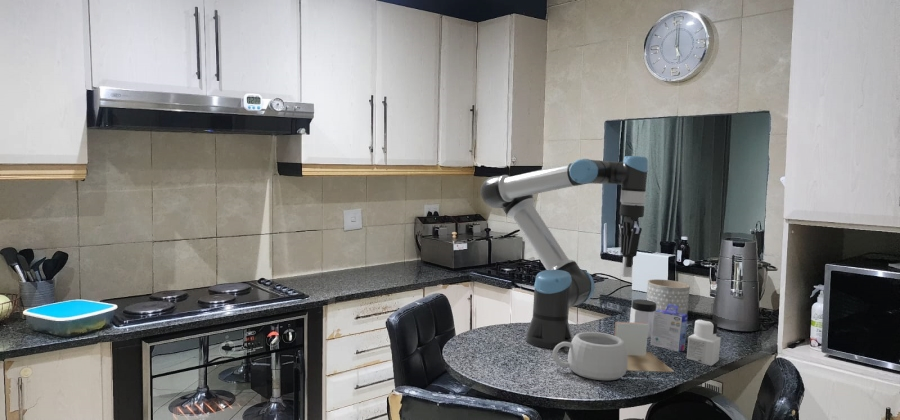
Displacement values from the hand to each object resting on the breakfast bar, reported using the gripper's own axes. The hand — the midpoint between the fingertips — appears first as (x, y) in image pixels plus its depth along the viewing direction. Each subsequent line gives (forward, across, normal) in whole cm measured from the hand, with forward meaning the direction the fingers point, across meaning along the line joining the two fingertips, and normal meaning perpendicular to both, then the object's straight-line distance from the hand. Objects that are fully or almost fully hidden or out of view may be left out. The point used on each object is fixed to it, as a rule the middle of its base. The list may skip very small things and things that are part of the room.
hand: (626, 276), depth 197 cm
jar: (+24, +17, -14) cm, 33 cm away
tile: (+23, -8, 0) cm, 25 cm away
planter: (+24, +51, -38) cm, 68 cm away
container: (+24, -10, -23) cm, 35 cm away
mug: (+24, -24, +18) cm, 38 cm away
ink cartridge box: (+24, +2, -17) cm, 30 cm away
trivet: (+24, -14, 0) cm, 28 cm away
